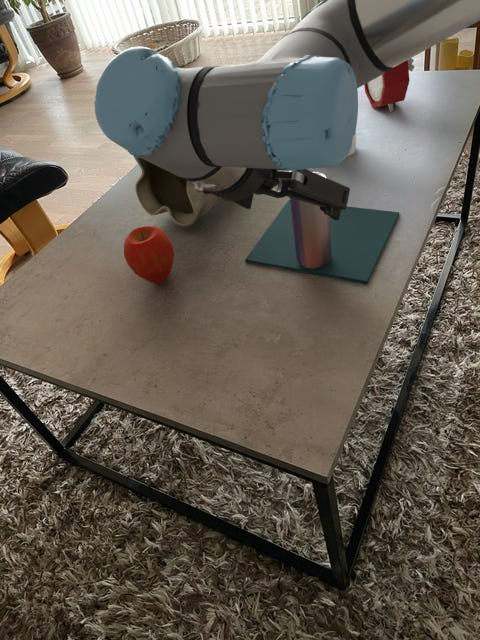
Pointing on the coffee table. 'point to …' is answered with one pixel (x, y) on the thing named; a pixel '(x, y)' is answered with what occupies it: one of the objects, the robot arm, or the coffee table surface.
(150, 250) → the apple
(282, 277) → the coffee table surface
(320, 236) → the beverage can
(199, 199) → the vase
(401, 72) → the alarm clock
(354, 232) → the mat
